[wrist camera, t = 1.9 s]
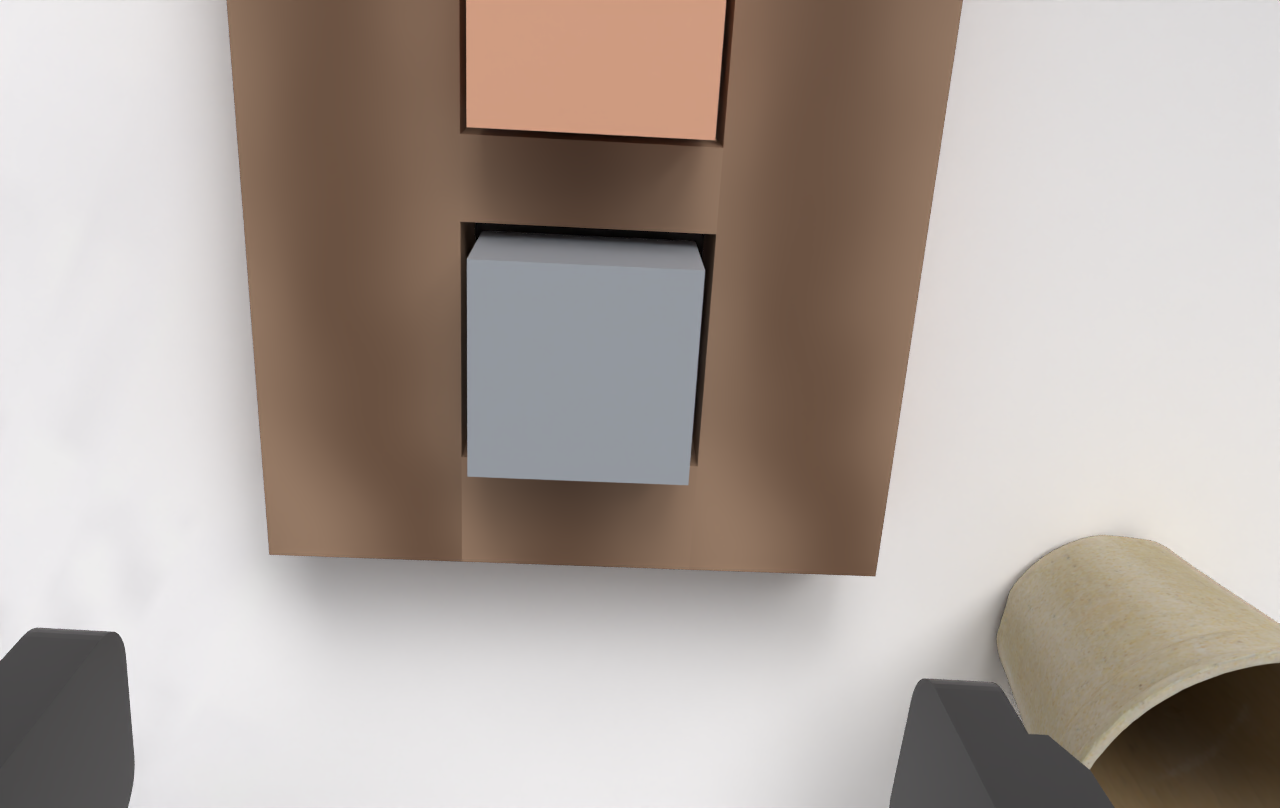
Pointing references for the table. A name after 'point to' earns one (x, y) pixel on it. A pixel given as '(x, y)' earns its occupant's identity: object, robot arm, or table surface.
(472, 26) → the terracotta pad
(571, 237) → the grey pad
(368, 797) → the table surface
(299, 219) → the button board
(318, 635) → the table surface
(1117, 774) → the flower pot
